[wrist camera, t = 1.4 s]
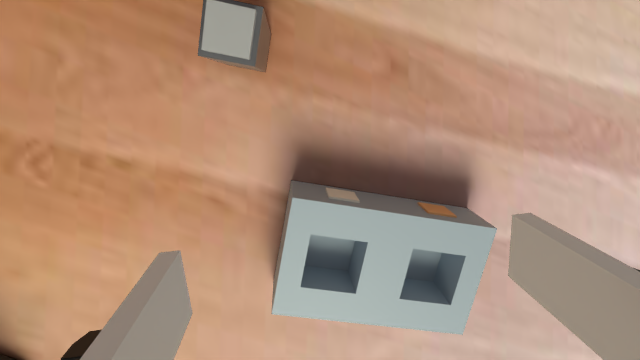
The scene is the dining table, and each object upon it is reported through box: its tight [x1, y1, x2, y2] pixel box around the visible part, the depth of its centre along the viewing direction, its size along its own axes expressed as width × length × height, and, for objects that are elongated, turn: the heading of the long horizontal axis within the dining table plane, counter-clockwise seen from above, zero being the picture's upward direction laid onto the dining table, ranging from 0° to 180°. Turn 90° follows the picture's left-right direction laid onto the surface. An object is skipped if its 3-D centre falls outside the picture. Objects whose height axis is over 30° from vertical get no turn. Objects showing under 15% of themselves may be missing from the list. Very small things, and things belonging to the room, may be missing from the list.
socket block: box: [272, 180, 497, 335], centre depth 38 cm, size 20×12×6 cm, turn 79°
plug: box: [198, 0, 271, 72], centre depth 28 cm, size 4×4×14 cm
